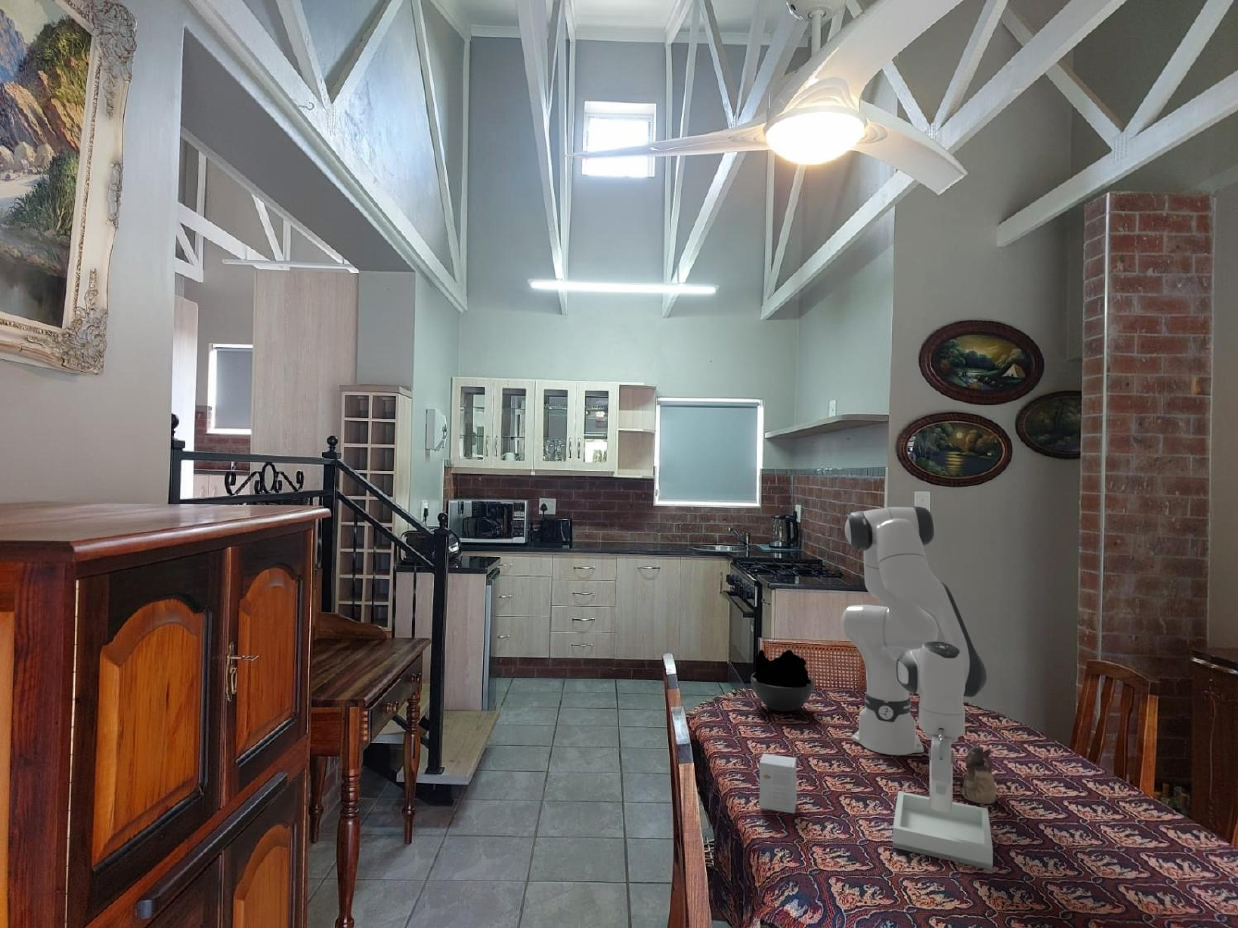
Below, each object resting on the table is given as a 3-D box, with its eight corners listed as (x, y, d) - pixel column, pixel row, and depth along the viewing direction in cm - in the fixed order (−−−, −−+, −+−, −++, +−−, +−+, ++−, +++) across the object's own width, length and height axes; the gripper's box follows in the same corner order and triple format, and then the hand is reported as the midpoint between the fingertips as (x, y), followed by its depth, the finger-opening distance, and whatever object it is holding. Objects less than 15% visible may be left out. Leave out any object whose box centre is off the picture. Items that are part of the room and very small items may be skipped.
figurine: (968, 787, 167) (968, 738, 167) (1000, 797, 162) (1000, 746, 162) (957, 796, 162) (958, 746, 162) (990, 807, 157) (990, 755, 157)
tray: (898, 808, 156) (898, 791, 156) (987, 826, 148) (987, 808, 148) (892, 847, 140) (892, 827, 140) (992, 869, 132) (992, 849, 132)
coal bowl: (824, 709, 222) (825, 651, 222) (796, 725, 207) (796, 663, 207) (769, 695, 235) (770, 640, 236) (738, 710, 220) (739, 651, 221)
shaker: (928, 799, 147) (929, 745, 147) (953, 804, 145) (953, 749, 145) (928, 809, 143) (928, 753, 143) (953, 814, 141) (954, 758, 141)
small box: (797, 803, 158) (797, 757, 158) (795, 814, 153) (795, 767, 153) (762, 797, 161) (762, 752, 161) (758, 808, 156) (759, 761, 156)
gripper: (958, 740, 134) (958, 812, 133) (957, 709, 152) (957, 772, 152) (923, 735, 136) (923, 804, 136) (926, 705, 155) (926, 766, 155)
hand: (941, 787), depth 144 cm, fingers closed on shaker, 4 cm apart
